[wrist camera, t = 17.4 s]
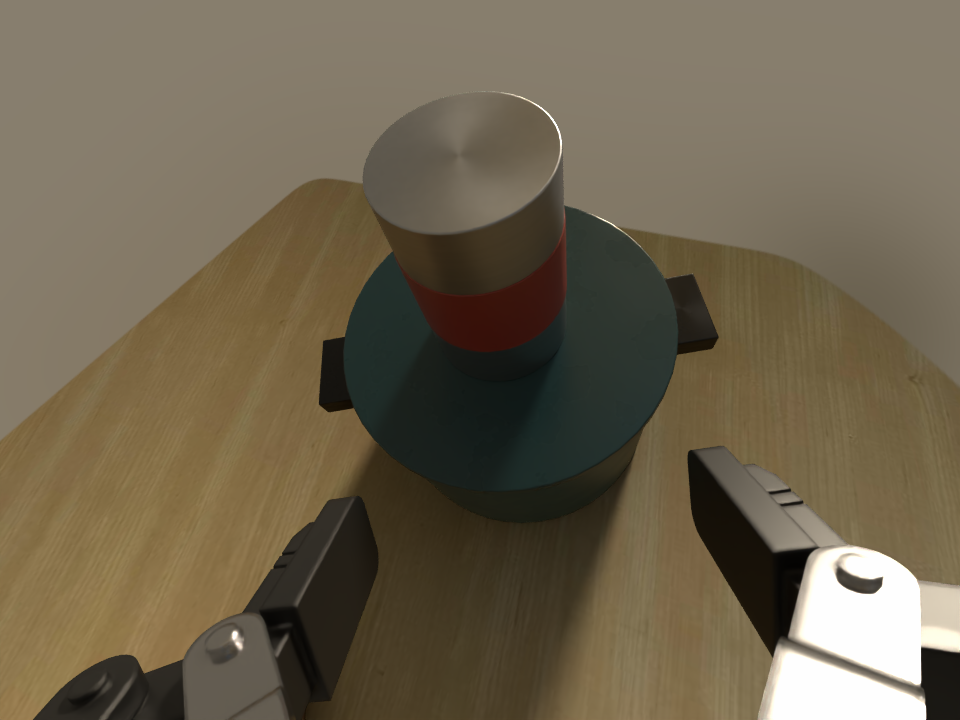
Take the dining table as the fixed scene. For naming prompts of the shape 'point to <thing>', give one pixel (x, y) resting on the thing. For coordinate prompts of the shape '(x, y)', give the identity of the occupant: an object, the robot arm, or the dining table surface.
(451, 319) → the can
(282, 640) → the robot arm
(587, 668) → the dining table surface
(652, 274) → the pot
